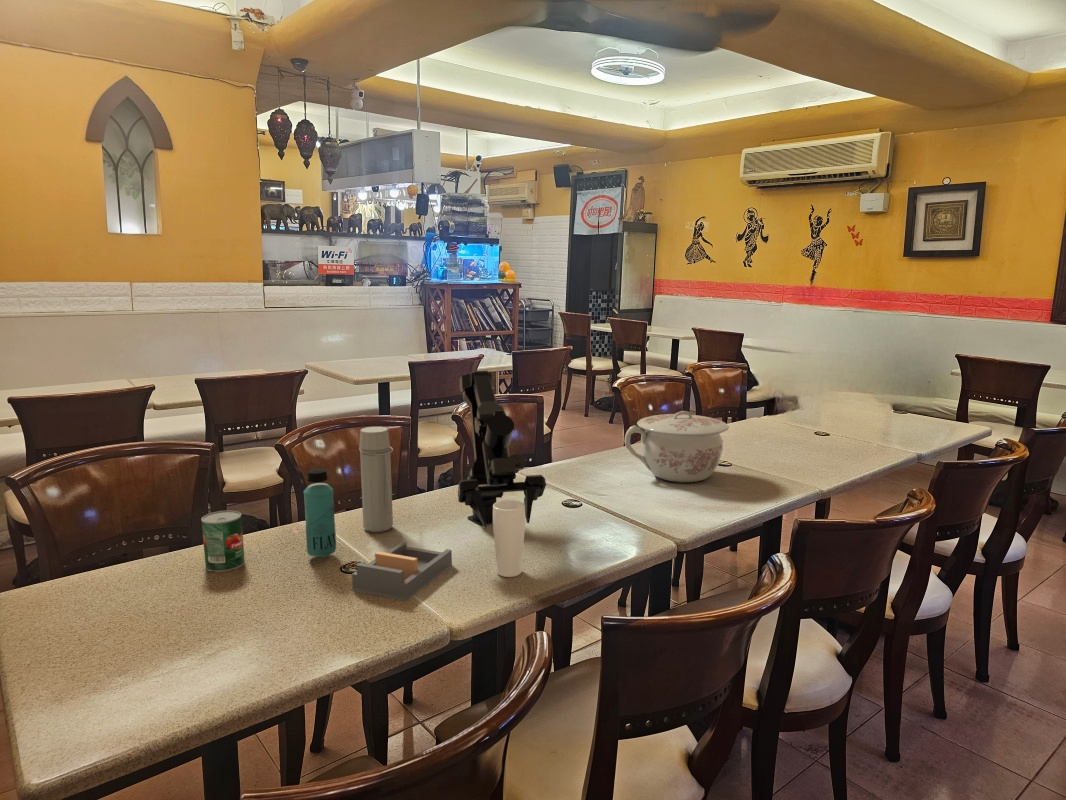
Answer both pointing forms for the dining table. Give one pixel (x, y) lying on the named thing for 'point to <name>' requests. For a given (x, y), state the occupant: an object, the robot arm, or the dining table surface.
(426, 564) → the gray tray
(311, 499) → the beverage bottle
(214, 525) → the canned tomato
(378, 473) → the water bottle
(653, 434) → the chamber pot
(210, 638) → the dining table surface
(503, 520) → the drinking glass
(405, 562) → the block
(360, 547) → the dining table surface
